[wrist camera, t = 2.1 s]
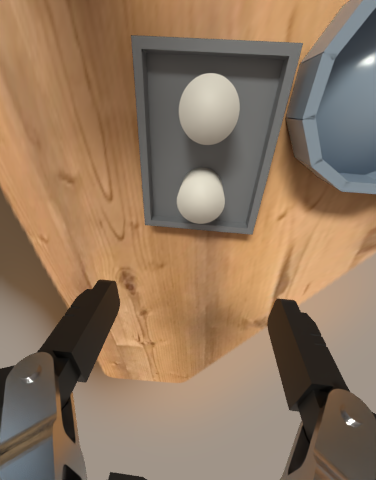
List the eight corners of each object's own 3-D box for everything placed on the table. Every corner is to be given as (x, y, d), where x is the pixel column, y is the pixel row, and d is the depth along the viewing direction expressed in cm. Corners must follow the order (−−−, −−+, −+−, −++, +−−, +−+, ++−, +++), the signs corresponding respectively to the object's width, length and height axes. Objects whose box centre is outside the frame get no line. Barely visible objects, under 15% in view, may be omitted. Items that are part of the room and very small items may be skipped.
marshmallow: (183, 137, 22) (178, 143, 18) (185, 78, 19) (179, 71, 15) (229, 140, 22) (233, 146, 18) (238, 81, 19) (245, 74, 15)
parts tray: (149, 216, 29) (145, 224, 27) (139, 43, 19) (131, 35, 17) (249, 225, 28) (252, 234, 26) (292, 50, 18) (302, 43, 16)
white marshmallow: (180, 205, 26) (176, 221, 23) (182, 165, 24) (177, 176, 20) (219, 208, 26) (221, 225, 22) (225, 169, 23) (228, 180, 20)
